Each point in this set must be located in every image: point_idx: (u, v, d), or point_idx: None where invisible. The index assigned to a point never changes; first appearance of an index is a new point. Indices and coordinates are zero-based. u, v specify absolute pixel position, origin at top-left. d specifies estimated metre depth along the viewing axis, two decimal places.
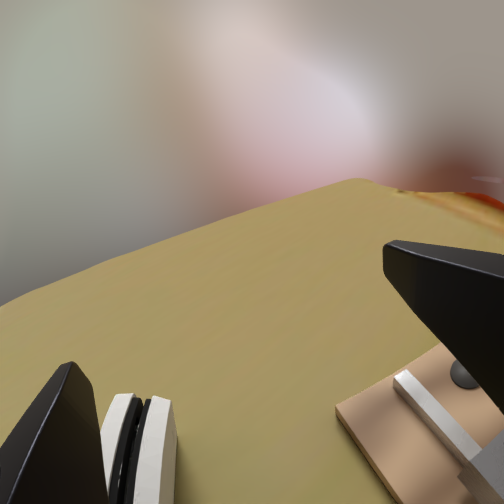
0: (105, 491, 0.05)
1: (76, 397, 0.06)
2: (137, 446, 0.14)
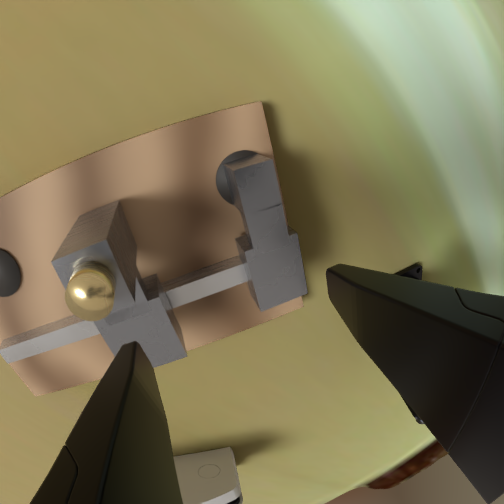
0: (176, 477, 0.06)
1: (144, 377, 0.07)
2: None
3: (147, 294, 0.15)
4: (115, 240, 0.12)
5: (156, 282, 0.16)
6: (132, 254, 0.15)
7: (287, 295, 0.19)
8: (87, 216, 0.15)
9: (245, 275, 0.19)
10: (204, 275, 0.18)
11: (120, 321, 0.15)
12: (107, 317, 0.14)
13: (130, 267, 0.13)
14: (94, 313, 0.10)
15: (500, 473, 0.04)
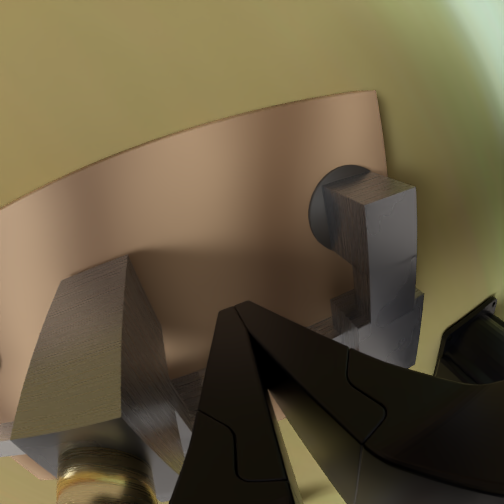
0: (283, 441, 0.06)
1: None
2: None
3: (191, 420, 0.08)
4: (135, 377, 0.05)
5: None
6: (161, 360, 0.08)
7: None
8: (73, 289, 0.08)
9: None
10: None
11: None
12: None
13: (165, 403, 0.07)
14: None
15: None
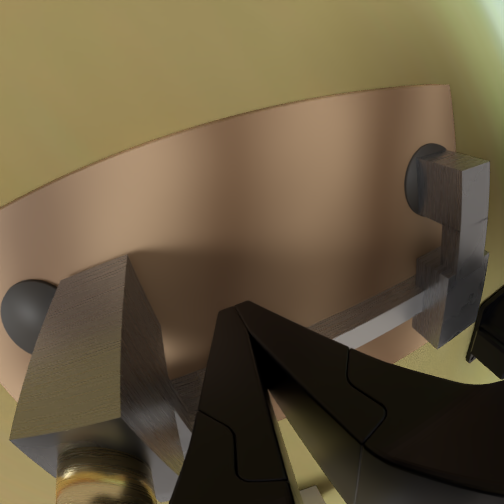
0: (283, 441, 0.06)
1: None
2: None
3: (190, 420, 0.08)
4: (135, 377, 0.05)
5: None
6: (160, 360, 0.08)
7: (462, 326, 0.13)
8: (72, 289, 0.08)
9: (421, 305, 0.13)
10: (381, 310, 0.13)
11: None
12: None
13: (165, 403, 0.07)
14: None
15: None
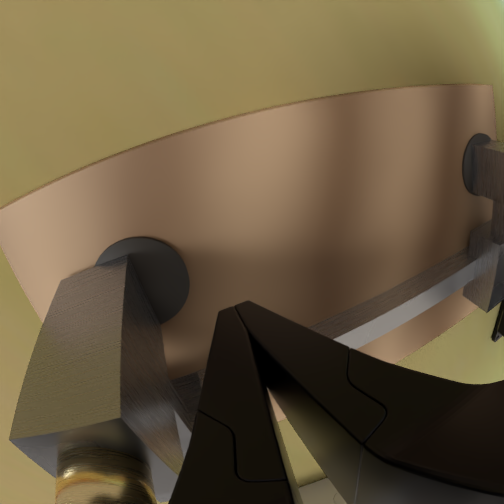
0: (283, 442, 0.06)
1: None
2: None
3: (190, 420, 0.08)
4: (134, 377, 0.05)
5: None
6: (160, 360, 0.08)
7: None
8: (72, 289, 0.08)
9: (473, 273, 0.14)
10: (446, 275, 0.13)
11: None
12: None
13: (165, 403, 0.07)
14: None
15: None
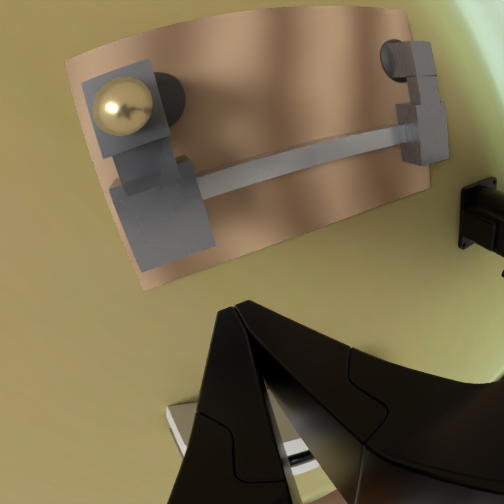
0: (282, 442, 0.06)
1: None
2: None
3: (176, 162, 0.13)
4: None
5: (185, 156, 0.14)
6: None
7: (438, 155, 0.18)
8: None
9: (404, 136, 0.19)
10: (376, 129, 0.18)
11: (141, 192, 0.13)
12: (127, 185, 0.12)
13: None
14: (125, 124, 0.08)
15: None
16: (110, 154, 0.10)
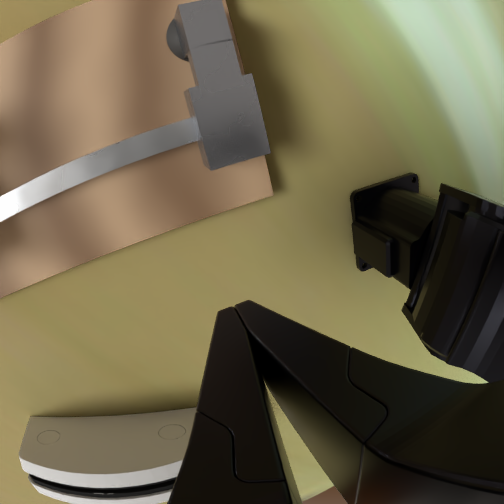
0: None
1: None
2: (75, 485, 0.15)
3: None
4: None
5: None
6: None
7: (244, 151, 0.15)
8: None
9: (194, 132, 0.15)
10: (146, 131, 0.14)
11: None
12: None
13: None
14: None
15: None
16: None
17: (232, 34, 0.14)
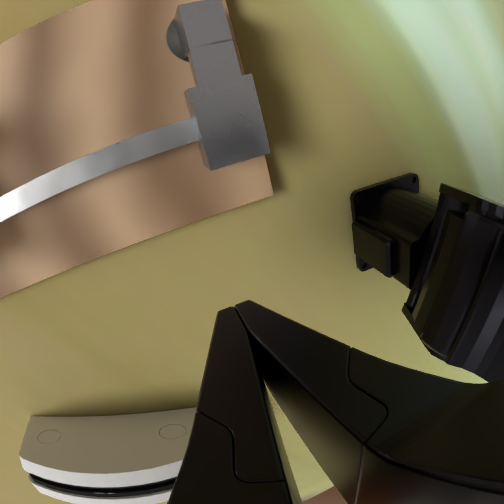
0: None
1: None
2: (75, 485, 0.15)
3: None
4: None
5: None
6: None
7: (244, 151, 0.15)
8: None
9: (195, 132, 0.15)
10: (146, 132, 0.14)
11: None
12: None
13: None
14: None
15: None
16: None
17: (232, 34, 0.14)
